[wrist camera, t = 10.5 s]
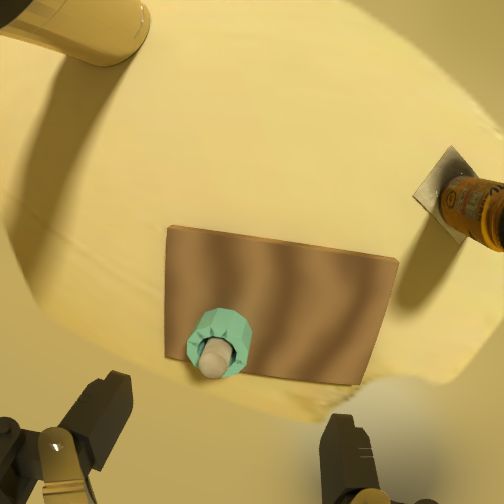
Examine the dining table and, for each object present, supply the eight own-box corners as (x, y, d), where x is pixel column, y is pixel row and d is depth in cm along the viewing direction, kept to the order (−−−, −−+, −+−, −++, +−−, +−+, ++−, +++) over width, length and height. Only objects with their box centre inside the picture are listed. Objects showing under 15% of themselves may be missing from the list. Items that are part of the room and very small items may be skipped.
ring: (195, 350, 36) (186, 370, 33) (198, 303, 35) (187, 321, 31) (248, 360, 36) (243, 381, 32) (255, 313, 34) (250, 333, 30)
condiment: (459, 244, 31) (519, 284, 20) (412, 195, 30) (470, 217, 19) (493, 197, 29) (560, 219, 17) (449, 144, 28) (517, 145, 17)
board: (169, 349, 39) (143, 394, 30) (172, 224, 34) (136, 248, 25) (357, 377, 37) (369, 427, 29) (394, 258, 32) (425, 291, 24)
